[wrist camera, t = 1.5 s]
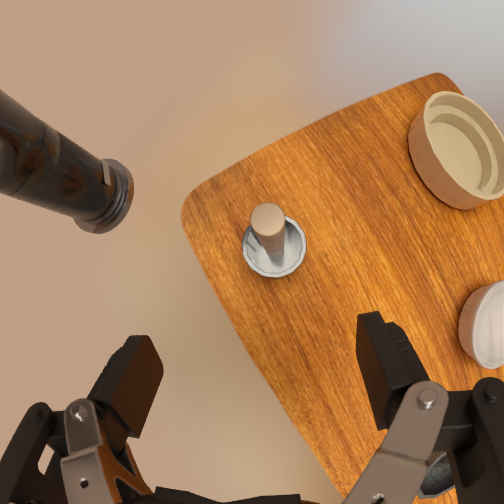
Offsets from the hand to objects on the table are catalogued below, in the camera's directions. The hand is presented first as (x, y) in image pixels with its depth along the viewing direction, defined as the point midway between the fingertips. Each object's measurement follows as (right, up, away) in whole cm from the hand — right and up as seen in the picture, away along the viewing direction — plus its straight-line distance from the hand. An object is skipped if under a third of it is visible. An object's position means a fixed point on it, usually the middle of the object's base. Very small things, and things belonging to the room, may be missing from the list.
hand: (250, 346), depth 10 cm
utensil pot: (+3, +3, +21) cm, 22 cm away
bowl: (+28, +17, +20) cm, 38 cm away
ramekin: (+31, -6, +18) cm, 36 cm away
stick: (+3, +3, +21) cm, 21 cm away
